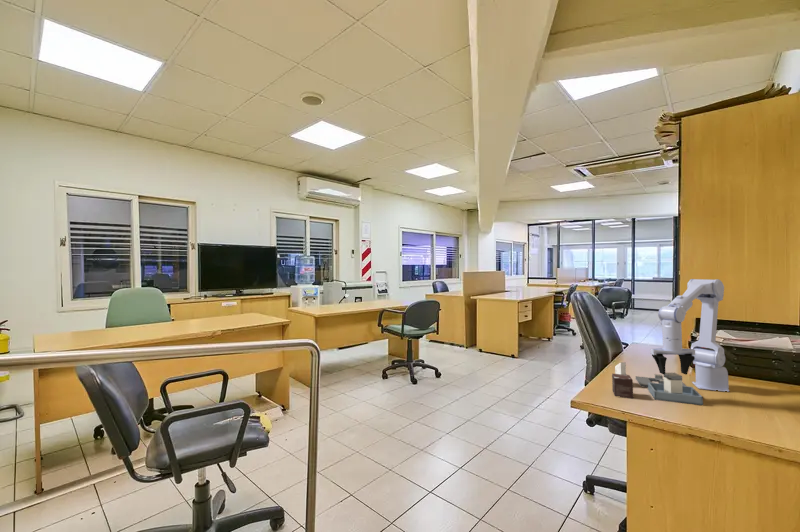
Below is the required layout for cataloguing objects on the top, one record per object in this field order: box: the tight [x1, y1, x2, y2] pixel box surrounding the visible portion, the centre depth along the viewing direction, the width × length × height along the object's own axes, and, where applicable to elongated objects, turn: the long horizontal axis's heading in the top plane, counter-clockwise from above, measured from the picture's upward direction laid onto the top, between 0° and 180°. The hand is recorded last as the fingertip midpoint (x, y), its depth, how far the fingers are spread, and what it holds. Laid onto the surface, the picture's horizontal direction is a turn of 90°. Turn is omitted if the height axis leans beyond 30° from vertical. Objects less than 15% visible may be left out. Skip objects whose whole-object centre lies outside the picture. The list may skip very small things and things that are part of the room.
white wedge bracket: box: [614, 361, 627, 375], centre depth 142 cm, size 4×10×9 cm
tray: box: [647, 382, 704, 406], centre depth 127 cm, size 14×11×3 cm
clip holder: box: [635, 373, 687, 388], centre depth 140 cm, size 16×11×3 cm
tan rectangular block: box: [663, 372, 683, 394], centre depth 128 cm, size 4×4×8 cm
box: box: [611, 373, 634, 399], centre depth 131 cm, size 6×6×7 cm
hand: (673, 373), depth 127 cm, fingers open, 7 cm apart
